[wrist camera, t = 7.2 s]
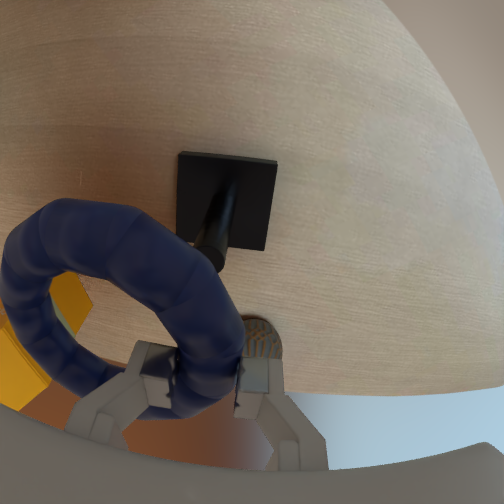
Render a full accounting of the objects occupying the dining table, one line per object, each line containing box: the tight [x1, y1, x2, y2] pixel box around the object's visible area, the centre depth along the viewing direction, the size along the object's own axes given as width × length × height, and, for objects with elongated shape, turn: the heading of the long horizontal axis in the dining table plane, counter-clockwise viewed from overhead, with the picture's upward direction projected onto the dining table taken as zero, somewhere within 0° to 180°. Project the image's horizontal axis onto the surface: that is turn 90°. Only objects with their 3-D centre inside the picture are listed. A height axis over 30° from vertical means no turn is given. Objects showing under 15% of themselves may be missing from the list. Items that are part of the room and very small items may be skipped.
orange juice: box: [0, 271, 93, 411], centre depth 28 cm, size 8×9×20 cm
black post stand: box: [176, 151, 278, 273], centre depth 26 cm, size 9×9×12 cm
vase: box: [242, 319, 282, 360], centre depth 36 cm, size 7×7×9 cm
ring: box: [0, 198, 245, 420], centre depth 11 cm, size 11×11×2 cm
